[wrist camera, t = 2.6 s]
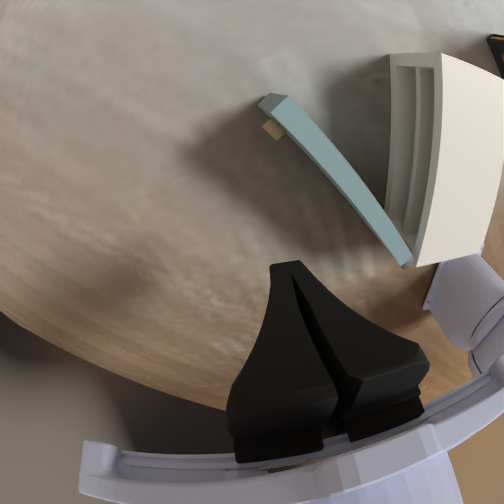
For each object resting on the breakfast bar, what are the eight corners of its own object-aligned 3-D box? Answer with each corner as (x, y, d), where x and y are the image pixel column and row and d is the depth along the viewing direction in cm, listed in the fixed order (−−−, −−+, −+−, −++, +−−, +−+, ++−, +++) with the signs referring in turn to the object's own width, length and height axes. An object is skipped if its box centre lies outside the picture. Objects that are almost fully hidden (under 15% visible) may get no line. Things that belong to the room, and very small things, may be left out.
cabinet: (443, 219, 23) (479, 252, 18) (381, 227, 23) (416, 267, 18) (459, 72, 14) (509, 82, 10) (389, 53, 14) (441, 52, 9)
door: (383, 224, 22) (416, 261, 18) (366, 239, 23) (396, 278, 18) (269, 93, 16) (288, 95, 11) (248, 113, 16) (258, 124, 12)
